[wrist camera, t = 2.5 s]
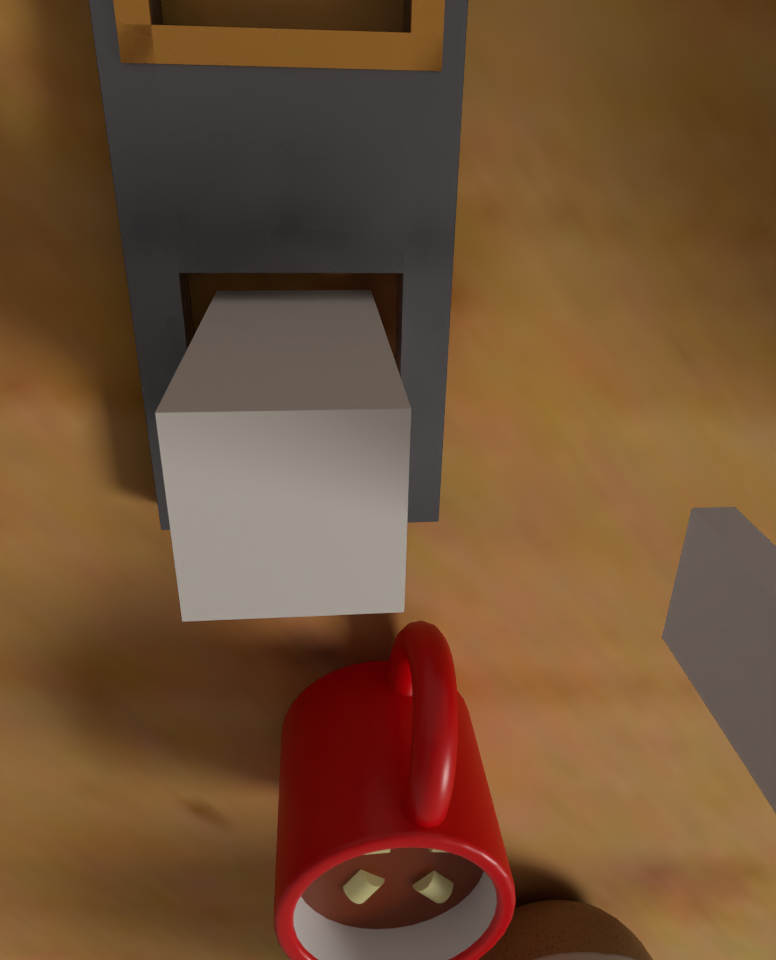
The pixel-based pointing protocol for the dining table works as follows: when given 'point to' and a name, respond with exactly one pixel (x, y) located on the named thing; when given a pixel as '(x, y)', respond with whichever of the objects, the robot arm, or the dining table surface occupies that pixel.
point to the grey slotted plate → (288, 180)
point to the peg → (287, 459)
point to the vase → (565, 934)
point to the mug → (388, 816)
